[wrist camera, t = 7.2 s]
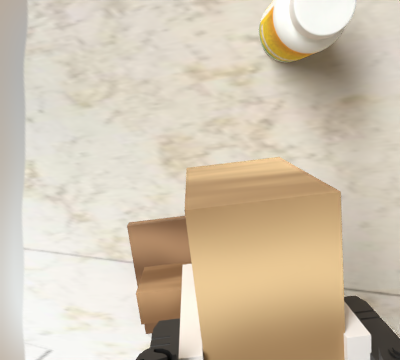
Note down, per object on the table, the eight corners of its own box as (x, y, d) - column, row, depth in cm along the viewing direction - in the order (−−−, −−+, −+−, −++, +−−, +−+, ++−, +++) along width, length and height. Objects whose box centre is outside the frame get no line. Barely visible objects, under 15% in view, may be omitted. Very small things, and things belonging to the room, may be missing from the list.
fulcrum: (129, 222, 35) (115, 246, 29) (267, 205, 35) (282, 226, 29) (147, 327, 37) (138, 369, 32) (276, 312, 37) (292, 351, 31)
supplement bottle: (273, -11, 31) (307, -62, 21) (327, 15, 31) (384, -24, 22) (247, 49, 32) (269, 25, 22) (300, 73, 32) (343, 60, 23)
